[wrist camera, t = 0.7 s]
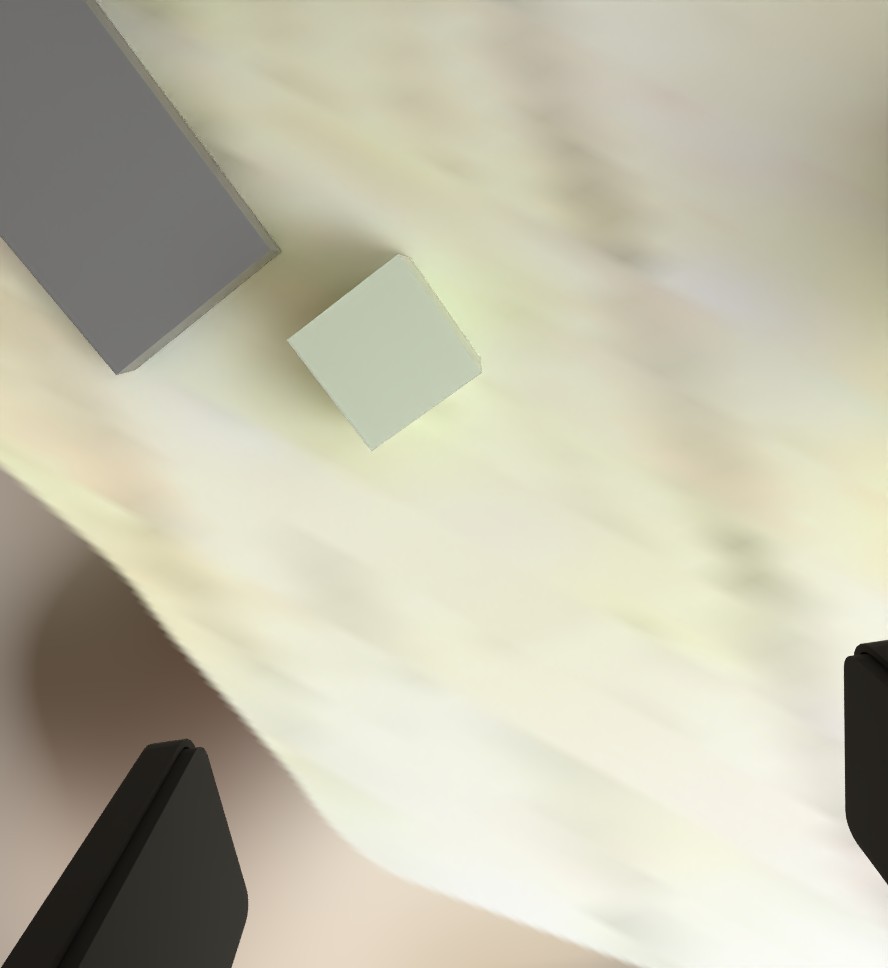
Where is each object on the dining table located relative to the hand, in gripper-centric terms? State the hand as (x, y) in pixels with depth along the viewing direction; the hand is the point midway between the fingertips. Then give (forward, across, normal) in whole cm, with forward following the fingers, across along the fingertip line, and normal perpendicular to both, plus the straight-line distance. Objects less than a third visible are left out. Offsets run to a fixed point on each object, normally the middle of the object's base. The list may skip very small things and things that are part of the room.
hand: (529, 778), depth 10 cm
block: (+28, +3, -5) cm, 28 cm away
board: (+28, +18, -18) cm, 38 cm away
